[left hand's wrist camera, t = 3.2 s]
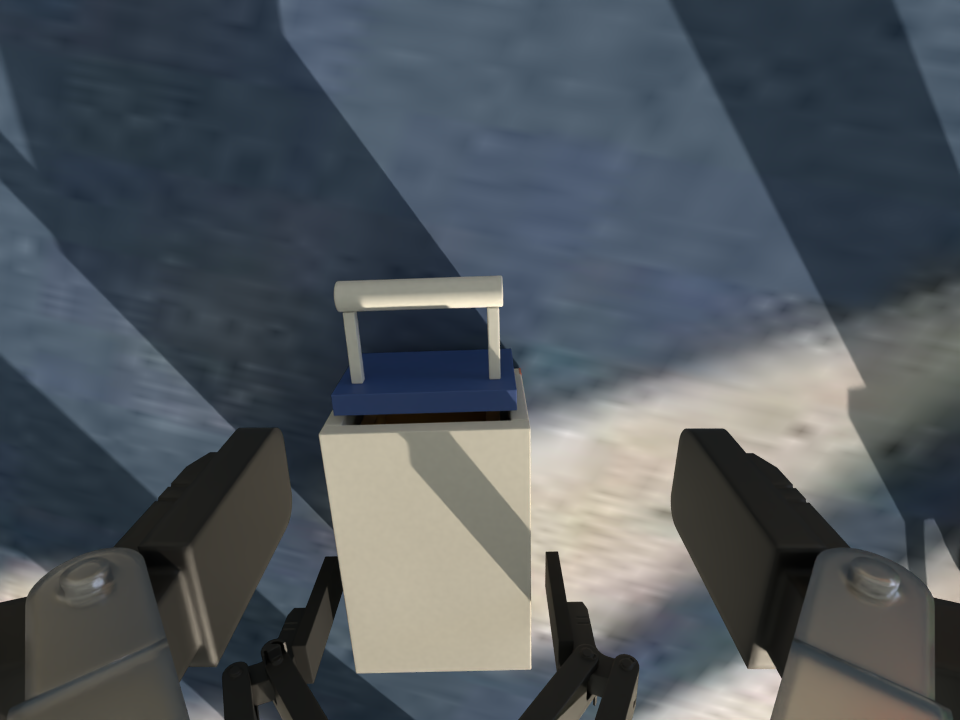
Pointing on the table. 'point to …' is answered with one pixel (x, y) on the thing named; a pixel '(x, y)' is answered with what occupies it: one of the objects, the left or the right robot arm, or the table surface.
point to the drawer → (424, 357)
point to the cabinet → (433, 540)
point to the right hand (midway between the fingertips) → (442, 570)
